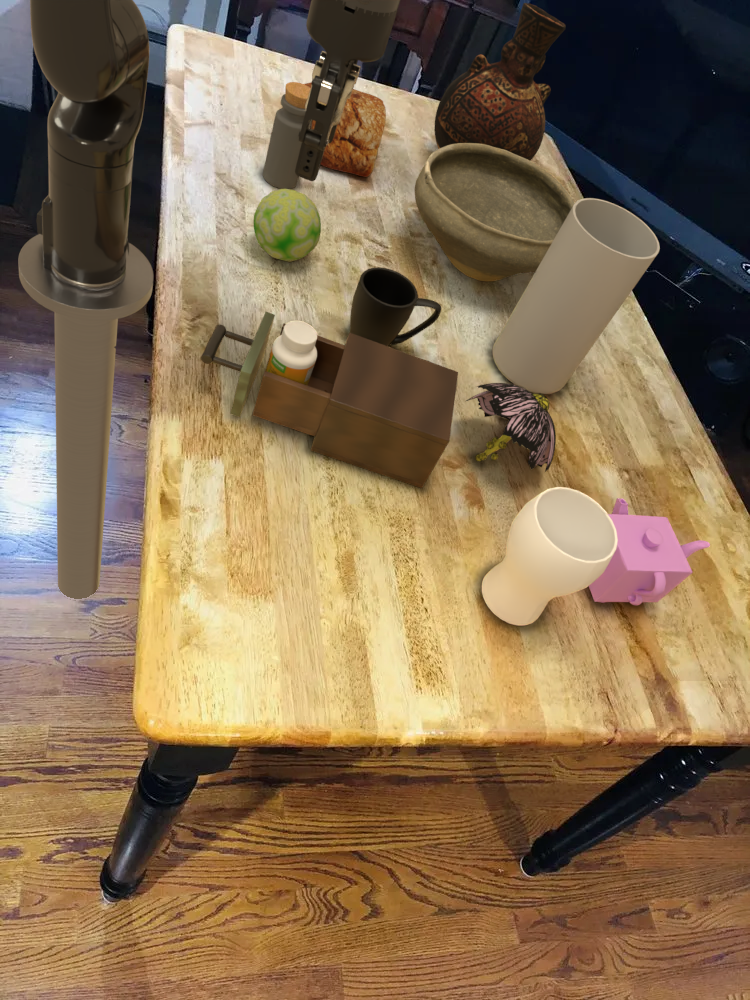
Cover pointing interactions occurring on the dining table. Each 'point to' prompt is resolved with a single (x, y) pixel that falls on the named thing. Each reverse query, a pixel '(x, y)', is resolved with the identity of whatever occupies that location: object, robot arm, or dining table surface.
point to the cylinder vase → (574, 294)
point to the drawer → (280, 380)
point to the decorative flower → (519, 422)
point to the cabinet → (388, 412)
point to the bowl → (490, 209)
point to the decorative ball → (287, 224)
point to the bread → (356, 135)
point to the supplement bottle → (294, 352)
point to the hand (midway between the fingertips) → (313, 157)
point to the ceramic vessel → (502, 92)
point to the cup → (549, 554)
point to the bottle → (286, 138)
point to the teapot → (643, 559)
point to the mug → (386, 307)
